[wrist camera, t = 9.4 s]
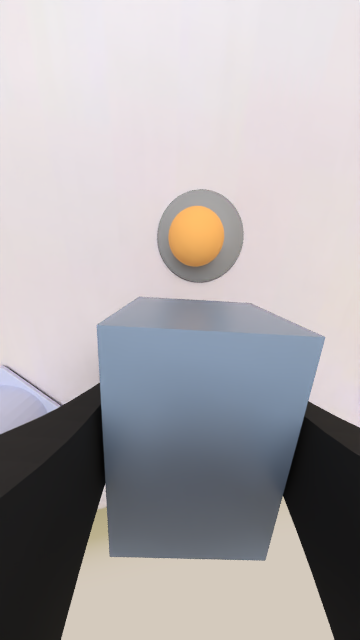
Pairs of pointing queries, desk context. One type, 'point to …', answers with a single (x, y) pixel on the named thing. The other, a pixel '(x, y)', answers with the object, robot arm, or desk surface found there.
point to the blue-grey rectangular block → (200, 424)
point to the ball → (196, 236)
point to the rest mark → (231, 235)
